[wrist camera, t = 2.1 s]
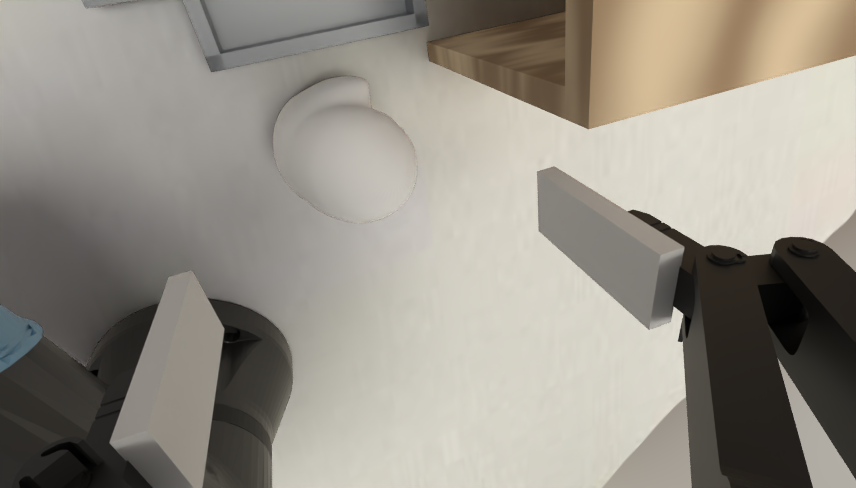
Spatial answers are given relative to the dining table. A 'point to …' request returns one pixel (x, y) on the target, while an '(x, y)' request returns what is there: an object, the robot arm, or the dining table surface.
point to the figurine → (344, 152)
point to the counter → (648, 52)
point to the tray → (289, 25)
